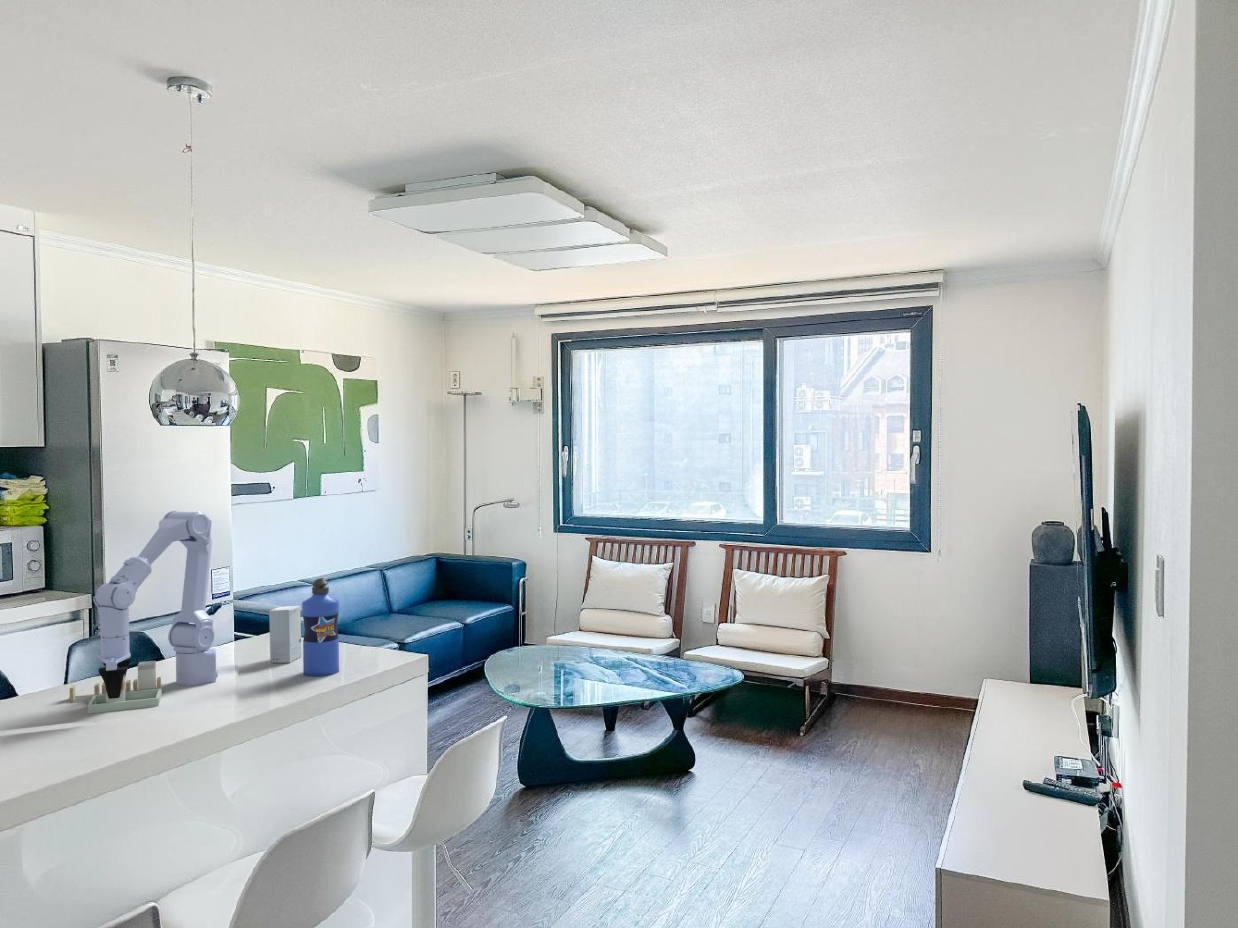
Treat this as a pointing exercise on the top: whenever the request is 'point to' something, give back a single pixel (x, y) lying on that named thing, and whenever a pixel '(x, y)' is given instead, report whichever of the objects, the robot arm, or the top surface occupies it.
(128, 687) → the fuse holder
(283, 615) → the skincare box
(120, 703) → the tray
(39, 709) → the top surface
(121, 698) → the marked fuse
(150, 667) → the fuse near base
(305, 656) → the blue bottle
